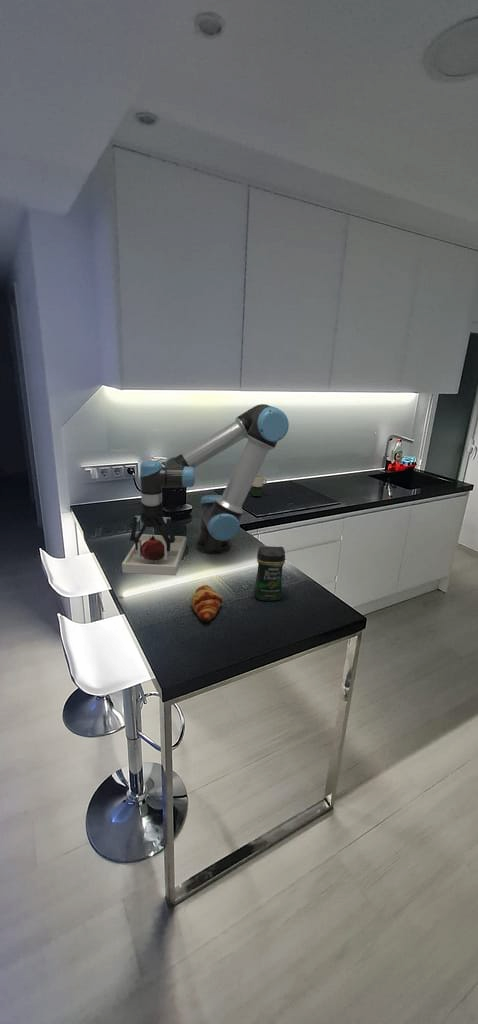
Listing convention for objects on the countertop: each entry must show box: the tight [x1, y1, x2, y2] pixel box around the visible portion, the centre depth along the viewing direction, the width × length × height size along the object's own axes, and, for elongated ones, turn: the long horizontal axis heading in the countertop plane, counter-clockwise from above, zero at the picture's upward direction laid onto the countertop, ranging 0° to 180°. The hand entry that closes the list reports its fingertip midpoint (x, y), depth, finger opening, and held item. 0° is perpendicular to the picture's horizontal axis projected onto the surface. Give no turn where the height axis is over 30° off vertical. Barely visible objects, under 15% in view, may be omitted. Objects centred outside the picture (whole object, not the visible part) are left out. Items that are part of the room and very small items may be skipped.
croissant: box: [190, 584, 223, 622], centre depth 139 cm, size 21×10×8 cm, turn 6°
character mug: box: [251, 473, 268, 497], centre depth 255 cm, size 11×7×13 cm, turn 92°
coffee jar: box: [253, 545, 286, 602], centre depth 145 cm, size 10×8×19 cm
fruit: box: [141, 536, 165, 562], centre depth 164 cm, size 9×10×10 cm
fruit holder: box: [121, 533, 187, 576], centre depth 172 cm, size 20×29×4 cm
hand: (153, 557), depth 165 cm, fingers closed on fruit, 9 cm apart
